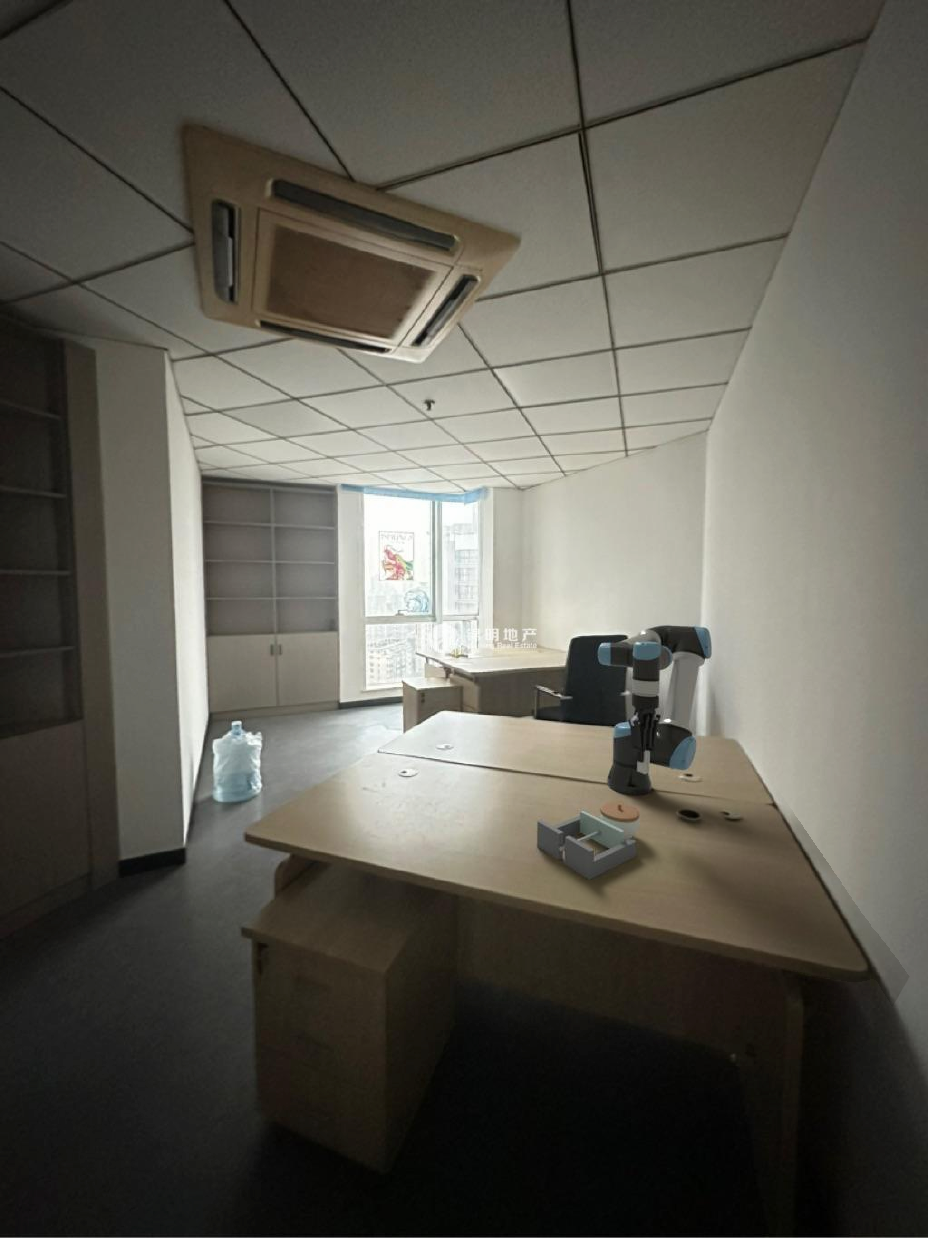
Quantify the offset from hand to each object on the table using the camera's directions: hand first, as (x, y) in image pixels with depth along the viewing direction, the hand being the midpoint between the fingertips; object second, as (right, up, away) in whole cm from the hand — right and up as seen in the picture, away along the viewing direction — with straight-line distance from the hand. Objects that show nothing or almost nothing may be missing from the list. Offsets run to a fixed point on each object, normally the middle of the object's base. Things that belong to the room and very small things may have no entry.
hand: (643, 771), depth 136 cm
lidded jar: (-9, -17, -6) cm, 20 cm away
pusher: (-22, -16, -15) cm, 31 cm away
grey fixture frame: (-20, -17, -13) cm, 29 cm away
